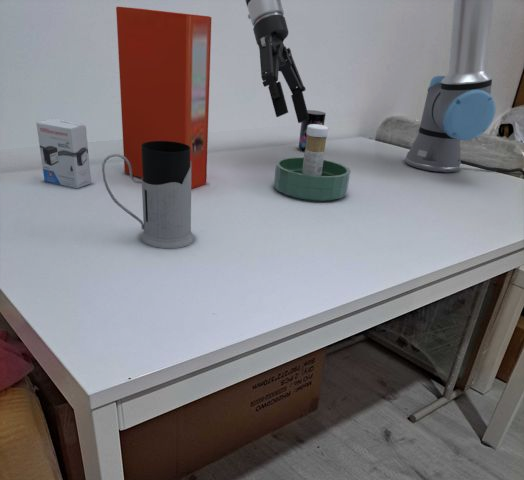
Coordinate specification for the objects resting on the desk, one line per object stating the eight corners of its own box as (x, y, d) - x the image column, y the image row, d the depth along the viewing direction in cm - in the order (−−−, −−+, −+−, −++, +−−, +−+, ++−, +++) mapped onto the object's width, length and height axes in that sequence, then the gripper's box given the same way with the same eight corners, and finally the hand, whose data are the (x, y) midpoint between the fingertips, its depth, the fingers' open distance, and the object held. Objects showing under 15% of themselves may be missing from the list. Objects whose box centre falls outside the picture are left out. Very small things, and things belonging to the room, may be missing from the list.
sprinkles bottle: (310, 184, 122) (318, 123, 115) (323, 190, 120) (333, 127, 112) (295, 186, 120) (303, 124, 112) (309, 192, 117) (317, 128, 110)
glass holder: (197, 247, 87) (199, 153, 79) (109, 250, 83) (101, 152, 75) (188, 228, 94) (189, 140, 86) (106, 230, 90) (98, 138, 82)
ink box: (43, 181, 109) (34, 121, 103) (59, 176, 113) (51, 118, 107) (77, 189, 107) (70, 128, 101) (92, 183, 111) (86, 124, 105)
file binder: (148, 167, 125) (143, 8, 108) (207, 183, 118) (211, 16, 101) (124, 174, 119) (114, 6, 102) (184, 191, 112) (185, 14, 95)
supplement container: (293, 149, 155) (297, 111, 149) (305, 146, 160) (310, 109, 154) (312, 154, 152) (317, 115, 146) (324, 150, 156) (330, 113, 151)
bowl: (326, 180, 129) (330, 157, 126) (358, 201, 116) (363, 176, 113) (263, 181, 124) (265, 157, 121) (289, 203, 111) (292, 177, 108)
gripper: (275, 42, 131) (298, 128, 134) (228, 14, 109) (256, 118, 113) (302, 28, 127) (325, 117, 131) (259, -4, 105) (287, 104, 109)
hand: (293, 118), depth 122 cm, fingers open, 13 cm apart
